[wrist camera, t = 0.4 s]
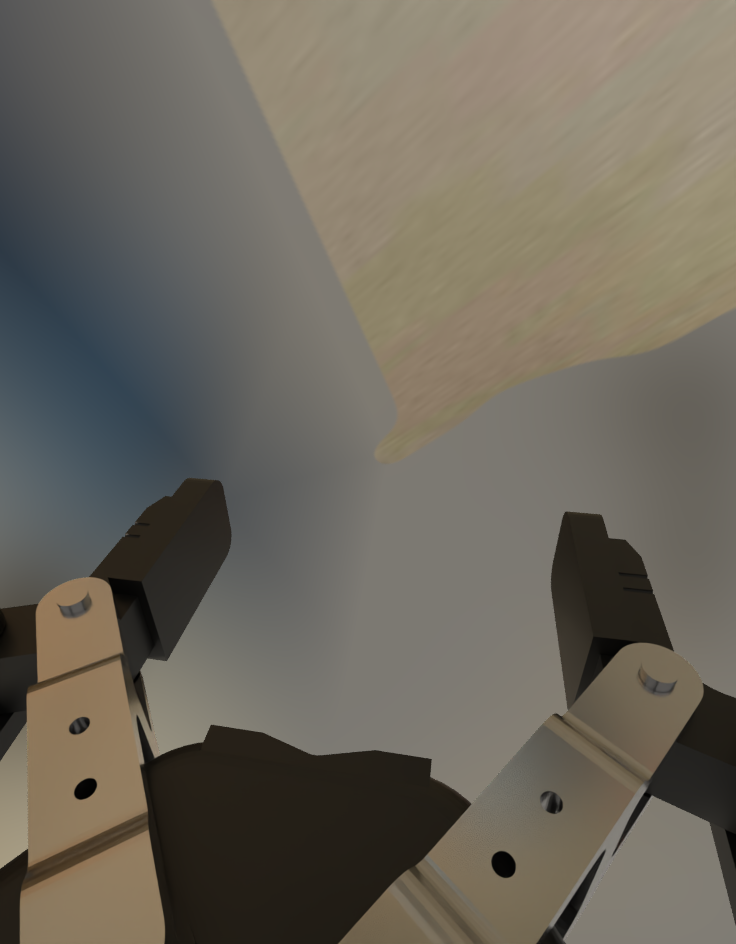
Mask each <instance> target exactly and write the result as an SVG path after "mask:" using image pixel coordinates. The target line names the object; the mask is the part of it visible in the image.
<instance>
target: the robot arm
mask: <svg viewBox="0 0 736 944" xmlns="http://www.w3.org/2000/svg"><path fill="white" fill-rule="evenodd" d="M230 545H231V527H230V522H229V516H228V511H227V506H226V500H225V495H224V490H223V486H222V484H221V482H220V481H218V480H207V479H196V478H187V479H186V480H185V481H184V482H183V483H182V484H181V486H180V487H179V488H178V490H177V491H176V492H175V493H174V495H173V496H172V497H169V496H165V497H163V498H162V499H160V500H159V501H157V502H156V503H154V504H152V505H151V506H149V507H148V508H147V509H146V510H145V511H144V512H143V513H142V514H141V516H140V517H139V518H138V519H137V521H136V522H135V525H132V526H131V528H130V529H129V530H128V531H127V533H126V534H125V537H122V539H121V540H120V541H119V542H118V543H117V544H116V546H115V547H114V548H113V549H112V550H111V551H110V553H109V554H108V555H107V556H106V557H105V559H104V560H103V561H102V562H101V564H100V565H99V566H98V567H97V568H96V569H95V571H94V572H93V573H92V574H91V576H90V577H87V578H86V577H85V578H78V579H75V580H71V581H68V582H65V583H63V584H61V585H59V586H57V587H56V588H54V589H53V590H52V591H50V592H49V593H48V594H46V595H45V596H44V597H43V599H42V600H41V601H40V603H39V604H34V605H27V606H19V607H11V608H3V609H0V760H1V759H2V758H3V756H4V755H5V753H6V752H7V750H8V749H9V747H10V746H11V744H12V743H13V741H14V740H15V738H16V737H17V735H18V734H19V732H20V731H21V729H22V728H23V726H24V725H25V724H26V722H27V774H28V775H27V776H28V777H27V782H28V849H27V850H25V851H24V852H23V853H21V854H20V855H19V856H17V857H16V858H15V859H13V860H12V861H10V862H9V863H8V864H6V865H5V866H4V867H2V868H1V869H0V944H566V943H565V942H564V941H565V939H566V938H567V936H568V935H569V933H570V931H571V930H572V928H573V927H574V925H575V923H576V922H577V920H578V918H579V917H580V916H581V914H582V912H583V911H584V909H585V908H586V906H587V904H588V902H589V901H590V899H591V897H592V896H593V894H594V892H595V890H596V888H597V887H598V885H599V883H600V881H601V879H602V878H603V876H604V874H605V872H606V871H607V869H608V867H609V866H610V864H611V863H612V861H613V859H614V858H615V856H616V855H617V853H618V852H619V850H620V848H621V847H622V845H623V844H624V842H625V840H626V839H627V837H628V836H629V834H630V832H631V831H632V829H633V828H634V826H635V825H636V823H637V822H638V820H639V818H640V817H641V815H642V814H643V812H644V810H645V809H646V807H647V806H648V804H649V803H650V801H651V799H652V798H653V796H655V797H657V798H659V799H661V800H663V801H665V802H667V803H670V804H672V805H674V806H676V807H678V808H680V809H682V810H685V811H687V812H689V813H691V814H694V815H696V816H698V817H700V818H702V819H704V820H706V821H708V822H710V826H711V830H712V833H713V838H714V842H715V846H716V849H717V853H718V857H719V861H720V865H721V869H722V873H723V877H724V881H725V885H726V889H727V893H728V897H729V901H730V905H731V908H732V913H733V916H734V920H735V924H736V698H734V697H731V696H728V695H725V694H723V693H721V692H718V691H716V690H714V689H712V688H710V687H708V686H707V685H705V684H704V683H702V680H701V678H700V676H699V675H698V673H697V671H696V670H695V669H694V667H693V666H692V665H691V664H690V663H689V662H688V661H687V660H685V659H684V658H683V657H681V656H680V655H678V654H677V653H675V652H674V650H673V647H672V644H671V641H670V638H669V636H668V633H667V630H666V627H665V624H664V621H663V618H662V615H661V612H660V610H659V607H658V604H657V601H656V598H655V595H654V594H653V589H652V587H651V584H650V581H649V579H647V572H646V569H645V566H644V563H643V561H642V558H641V556H640V555H639V554H638V553H637V552H636V551H635V550H634V549H633V548H632V546H631V545H629V543H628V542H627V541H626V540H621V539H610V538H608V534H607V531H606V527H605V524H604V521H603V517H602V515H600V514H588V513H577V512H565V513H564V515H563V519H562V523H561V527H560V533H559V537H558V542H557V546H556V551H555V555H554V560H553V565H552V573H551V591H552V599H553V606H554V613H555V621H556V628H557V635H558V642H559V650H560V657H561V664H562V671H563V679H564V686H565V693H566V700H567V708H568V711H567V712H566V713H565V714H564V715H563V716H560V715H558V714H553V715H552V716H550V717H549V718H548V719H547V720H546V721H545V722H544V723H543V724H542V725H541V726H540V727H539V728H538V730H537V731H536V732H535V733H534V734H533V735H532V736H531V738H530V739H529V740H528V741H527V742H526V743H525V744H524V746H523V747H522V748H521V749H520V750H519V751H518V752H517V754H516V755H515V756H514V757H513V758H512V759H511V760H510V761H509V762H508V764H507V765H506V766H505V767H504V768H503V769H502V770H501V772H500V773H499V774H498V775H497V776H496V777H495V778H494V780H493V781H492V782H491V783H490V784H489V785H488V786H487V787H486V789H485V790H484V791H483V792H482V793H481V794H480V795H479V796H478V798H477V799H476V800H475V801H474V802H473V803H472V804H471V803H470V802H469V801H468V800H467V799H465V798H464V797H463V796H462V795H460V794H459V793H458V792H457V791H455V790H454V789H452V788H450V787H449V786H447V785H445V784H444V783H442V782H440V781H438V780H435V779H433V778H431V777H430V772H431V760H432V759H428V758H421V757H414V756H408V755H402V754H395V753H389V752H382V751H376V750H374V751H362V752H352V753H341V754H331V755H318V756H316V755H311V754H308V753H306V752H304V751H301V750H300V749H297V748H295V747H293V746H291V745H289V744H286V743H284V742H282V741H280V740H278V739H275V738H273V737H271V736H269V735H267V734H264V733H261V732H254V731H248V730H242V729H235V728H229V727H222V726H216V725H211V726H210V728H209V731H208V733H207V735H206V737H205V740H204V742H203V743H196V744H191V745H187V746H183V747H180V748H177V749H174V750H171V751H169V752H167V753H165V754H162V755H160V752H159V749H158V745H157V740H156V736H155V731H154V727H153V723H152V718H151V713H150V708H149V704H148V699H147V695H146V690H145V685H144V680H143V677H142V674H141V671H140V669H141V668H142V666H143V664H144V663H145V661H146V659H147V658H149V659H156V660H163V661H167V660H168V658H169V656H170V654H171V653H172V651H173V649H174V648H175V646H176V644H177V642H178V641H179V639H180V637H181V635H182V634H183V632H184V630H185V628H186V626H187V625H188V623H189V621H190V619H191V618H192V616H193V614H194V613H195V611H196V609H197V607H198V606H199V604H200V602H201V600H202V599H203V597H204V595H205V593H206V592H207V590H208V588H209V586H210V585H211V583H212V581H213V579H214V578H215V576H216V574H217V572H218V570H219V569H220V567H221V565H222V563H223V562H224V560H225V558H226V556H227V555H228V552H229V549H230Z"/></svg>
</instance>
